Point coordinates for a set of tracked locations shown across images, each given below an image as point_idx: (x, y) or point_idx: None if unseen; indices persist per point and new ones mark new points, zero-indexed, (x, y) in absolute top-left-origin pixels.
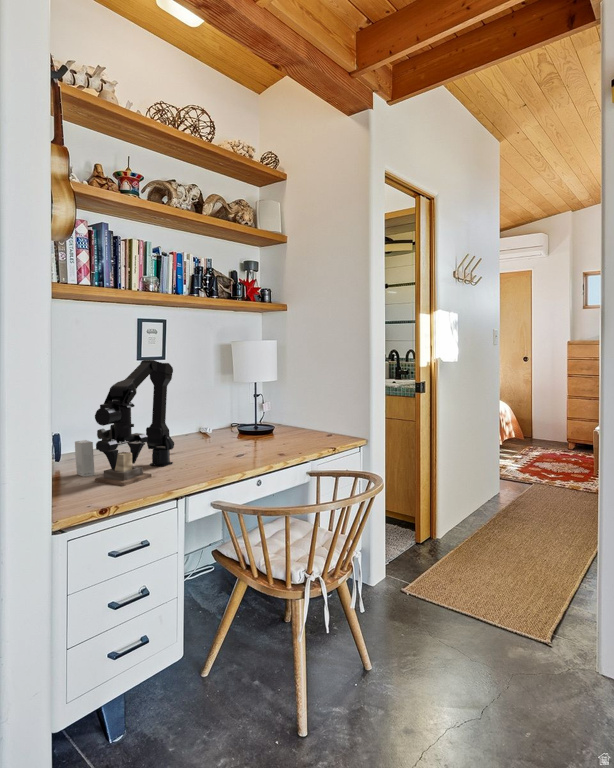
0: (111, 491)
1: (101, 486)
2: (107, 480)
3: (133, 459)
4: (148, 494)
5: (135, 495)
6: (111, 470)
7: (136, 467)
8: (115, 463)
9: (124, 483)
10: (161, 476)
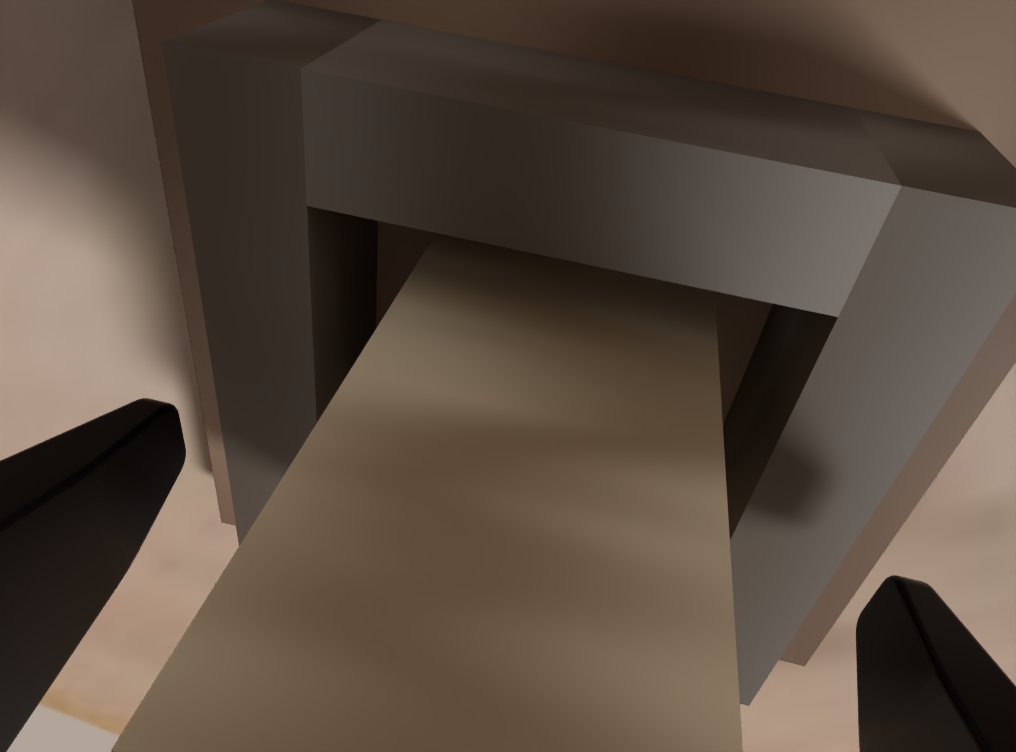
0: (3, 456)
1: (36, 208)
2: (172, 227)
3: (887, 730)
4: None
5: (83, 668)
6: (299, 256)
7: (744, 621)
8: (65, 615)
9: (232, 515)
10: (833, 709)
